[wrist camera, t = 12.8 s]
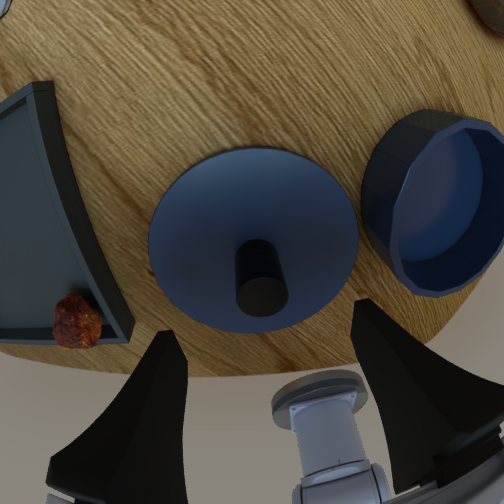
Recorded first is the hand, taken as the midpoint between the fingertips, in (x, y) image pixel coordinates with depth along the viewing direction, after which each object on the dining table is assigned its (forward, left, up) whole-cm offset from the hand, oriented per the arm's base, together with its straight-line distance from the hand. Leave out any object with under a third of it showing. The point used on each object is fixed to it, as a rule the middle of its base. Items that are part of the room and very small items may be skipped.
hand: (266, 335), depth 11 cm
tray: (+4, +18, -7) cm, 20 cm away
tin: (+2, -12, -7) cm, 14 cm away
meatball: (-2, +12, -6) cm, 14 cm away
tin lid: (0, 0, -6) cm, 6 cm away
